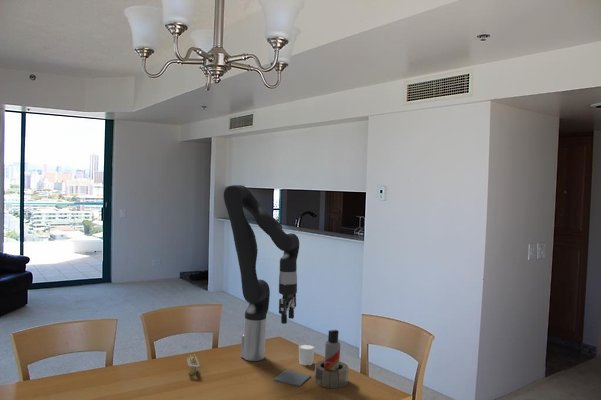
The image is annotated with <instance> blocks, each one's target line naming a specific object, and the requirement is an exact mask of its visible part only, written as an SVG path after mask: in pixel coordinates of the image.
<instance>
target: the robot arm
mask: <svg viewBox="0 0 601 400" xmlns="http://www.w3.org/2000/svg"><path fill="white" fill-rule="evenodd" d="M223 202H224V205H225V208H226V211H227V215H228V217H229V221H230V222H229V223H230V227H231V232H232V236H233V241H234V246H235V252H236V254H237V260H238V267H239V271H240V279H241V281H240V282H241V290H242V295H243V296H242V297H243V298H244V300H245V301H246V303H248V306H247V308H246V309H245V311H244V322H243V323H244V327H243V328H244V329H243V334H242V335H241V345H240V346H241V347H240V358H242V359H243V360H246V361H249V362H250V361H251V362H257V361H262V360H264V359H265V354H266V353H265V352H266V351H265V349H266V330H267V329H266V327H267V314H268V311H269V307H270V296H271V295H270V294H271V291H270V285H269V283H268V282H266V280H265V279H258V274H257V269H256V268H257V267H256V265H257V260H258V259H257V258H258V243H257V238H256V234H255V232H254V230H253V228H252V226H251V225H250V223H249V221H248V220H247V218H246V215H245V213H244V212H245V211H244V209H245V210H246V211H248V213H250V214H251V216H252V217H253V219H254V220H255V223H256V224H257V225H258V227H259V228H260V229H261V230H262V231H263V232H264V233H265V234H267V236H269V238H270V239H271V241H272V242H273V244H274V246H276V247H277V248H278V249H279V250H280V251H282V252H283V255H282V257H280V260H279V276H278V293H279V294H280V295H282V297H281V298H279V299H278V315H279V314H280V315H281V320H280V321H281V322H280V323H281V325H282V324H283V325H284V324H285V325H286V324H287V323H288V319H294V318H295V310H296V309H295V308H297V293H298V275H297V268H298V267H297V266H298V265H297V259H298V257H299V250H300V240H299V237H298V236H297V235H296V234H295V233H286V232H285V231H284V230H283V226H282V224H281V222H280V221H278V220H277V219H276V218H275V217H273V216H272V215H271V213H269V212H268V210H266V209H265V207H263V206H262V205H261V203H260V202H259V201H258V200H257V198H256V197H255V196H254V195H253V194H252V191H250V190H249V188H248V187H246V186H245V185H242V184H230V185H227V186H226V187H225V188H224V190H223Z"/></svg>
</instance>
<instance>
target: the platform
mask: <svg viewBox="0 0 601 400" xmlns="http://www.w3.org/2000/svg"><path fill="white" fill-rule="evenodd" d="M186 362H187V365H188V366H189V367H190V371H189V372H190V375H191V376H192V375H195V377H197V367H200V362H199V360H198V357H197V356H196V354H195V353H194V354H193V355H192V356H191V354H189V357H187V358H186Z"/></svg>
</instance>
